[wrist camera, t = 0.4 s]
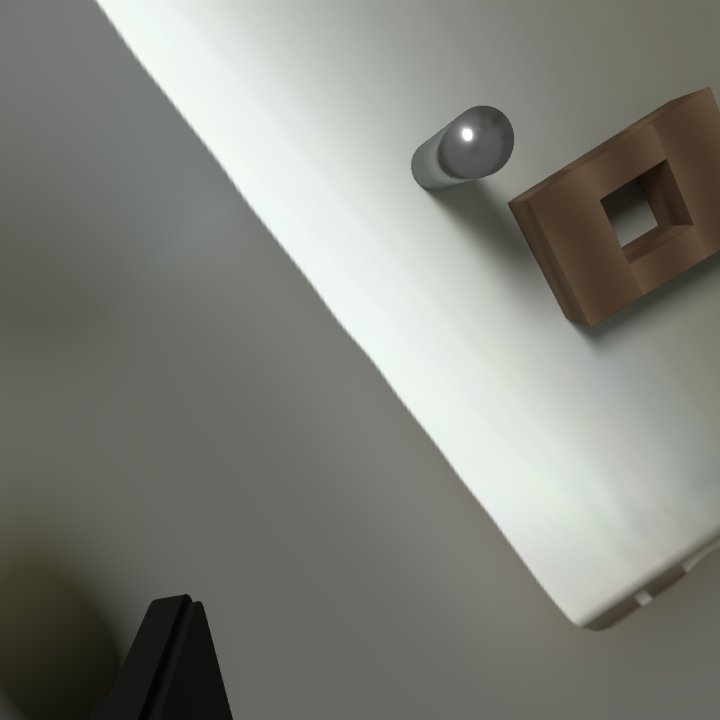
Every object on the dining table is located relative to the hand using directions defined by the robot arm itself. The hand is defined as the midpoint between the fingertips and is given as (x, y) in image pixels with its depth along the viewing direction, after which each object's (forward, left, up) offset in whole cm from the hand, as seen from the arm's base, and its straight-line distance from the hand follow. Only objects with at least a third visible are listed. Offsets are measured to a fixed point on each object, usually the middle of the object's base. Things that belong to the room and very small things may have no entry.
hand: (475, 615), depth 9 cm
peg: (-10, -6, -28) cm, 30 cm away
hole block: (-19, +3, -27) cm, 33 cm away
